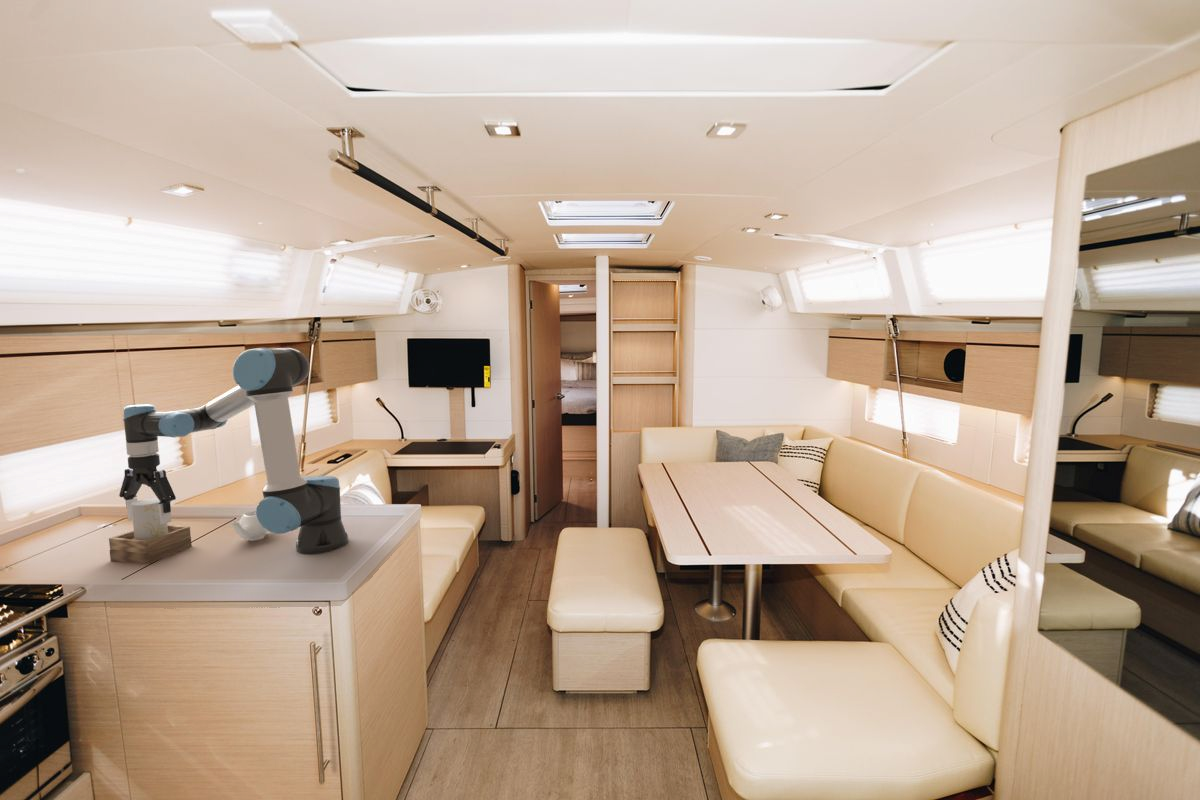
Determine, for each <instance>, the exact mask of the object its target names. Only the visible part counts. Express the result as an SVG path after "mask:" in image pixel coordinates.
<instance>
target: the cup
mask: <svg viewBox="0 0 1200 800" xmlns="http://www.w3.org/2000/svg"><path fill="white" fill-rule="evenodd" d="M159 502H160V500H159V499H158V498H157V497H152V498H151V497H150V498H145V499H144V498H143V499H140V500H137V501H135V502H133V503H131V506H132V517H133V520H132V525H133V531H134V539H135V540H143V541H147V540H149V539H152V538H155V537H158V536H161V535H164V534H167V533H168V527H167V525H168V523H165V524H160V514H159Z"/></svg>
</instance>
